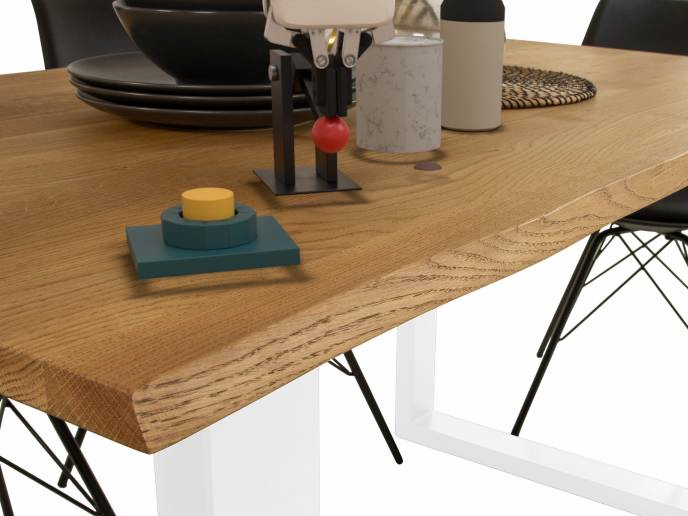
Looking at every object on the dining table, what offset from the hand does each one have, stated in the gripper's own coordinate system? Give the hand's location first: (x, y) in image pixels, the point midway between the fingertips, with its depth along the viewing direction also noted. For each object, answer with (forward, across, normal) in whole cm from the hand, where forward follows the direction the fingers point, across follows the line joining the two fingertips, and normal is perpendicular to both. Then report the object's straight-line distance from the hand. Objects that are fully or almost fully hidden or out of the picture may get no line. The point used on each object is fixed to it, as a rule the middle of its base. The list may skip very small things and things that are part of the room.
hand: (332, 114), depth 84 cm
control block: (+9, +12, +11) cm, 18 cm away
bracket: (+9, 0, -9) cm, 13 cm away
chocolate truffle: (+9, -13, -11) cm, 19 cm away
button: (+5, +12, +11) cm, 17 cm away
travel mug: (+9, -28, -36) cm, 47 cm away
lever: (+1, 0, -5) cm, 5 cm away
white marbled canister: (+9, -14, -23) cm, 28 cm away
